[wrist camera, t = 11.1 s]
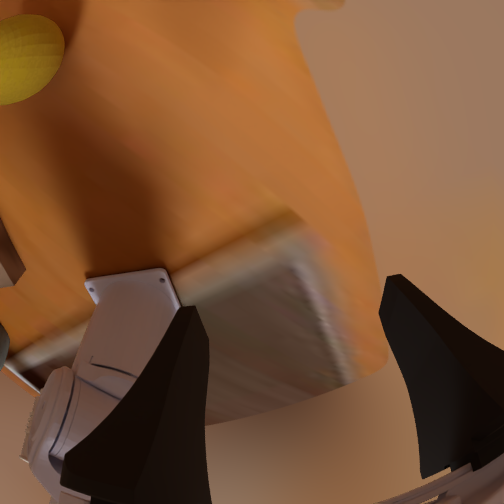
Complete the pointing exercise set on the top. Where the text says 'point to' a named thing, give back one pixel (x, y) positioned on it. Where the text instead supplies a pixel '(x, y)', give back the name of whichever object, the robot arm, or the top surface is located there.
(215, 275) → the top surface
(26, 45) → the lemon
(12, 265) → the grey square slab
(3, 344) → the bottle
